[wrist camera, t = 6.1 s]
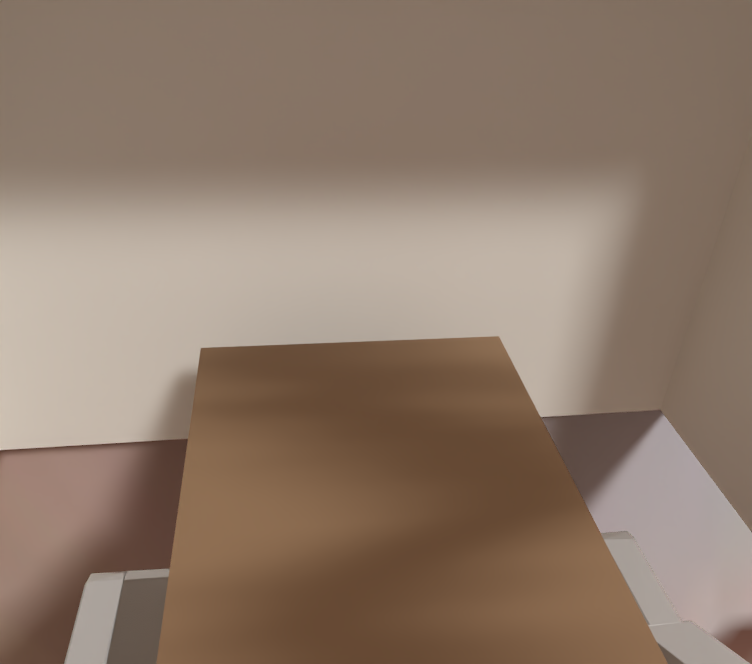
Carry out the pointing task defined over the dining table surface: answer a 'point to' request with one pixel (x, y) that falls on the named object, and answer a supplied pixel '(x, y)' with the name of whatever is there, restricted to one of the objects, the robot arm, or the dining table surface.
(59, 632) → the dining table surface
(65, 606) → the dining table surface
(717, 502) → the dining table surface
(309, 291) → the box
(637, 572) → the robot arm
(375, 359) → the block
